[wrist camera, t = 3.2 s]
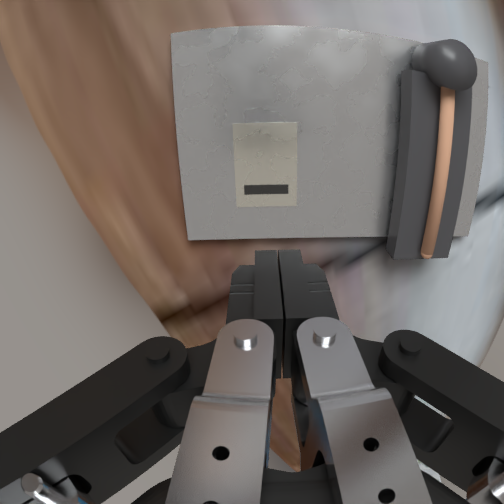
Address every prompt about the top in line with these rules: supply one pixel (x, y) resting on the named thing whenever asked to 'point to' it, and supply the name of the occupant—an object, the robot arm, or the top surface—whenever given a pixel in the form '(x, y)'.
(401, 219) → the cable arm
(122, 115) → the top surface
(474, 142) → the panel
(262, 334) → the robot arm
